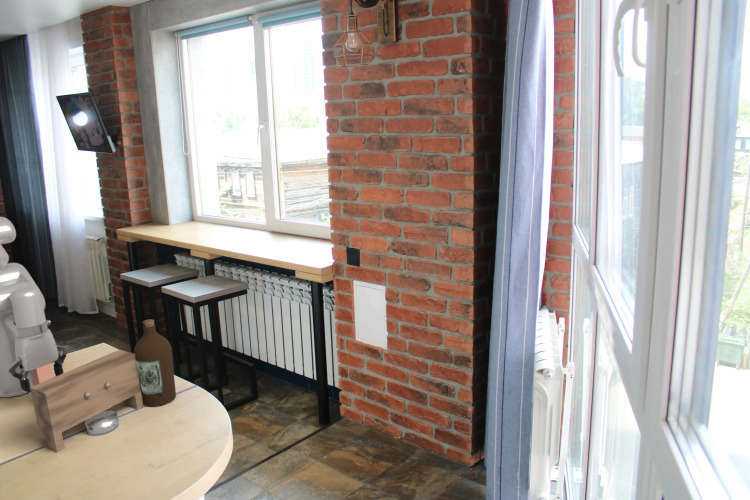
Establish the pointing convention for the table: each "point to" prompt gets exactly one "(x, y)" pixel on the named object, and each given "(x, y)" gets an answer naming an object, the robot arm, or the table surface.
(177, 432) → the table surface
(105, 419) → the puck
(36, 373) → the block
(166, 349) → the olive oil
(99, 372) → the cabinet
